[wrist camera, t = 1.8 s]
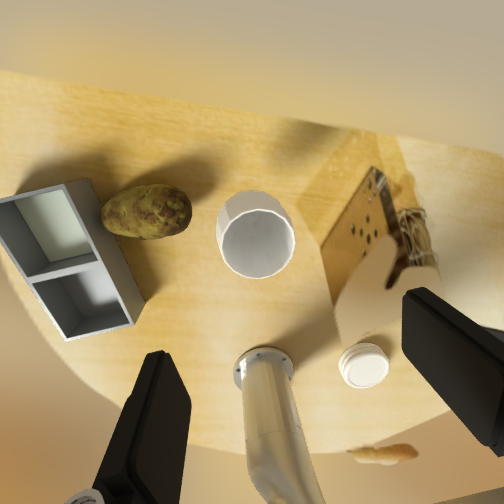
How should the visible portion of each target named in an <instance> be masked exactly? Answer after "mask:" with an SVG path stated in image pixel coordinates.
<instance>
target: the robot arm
mask: <svg viewBox="0 0 504 504" xmlns="http://www.w3.org/2000/svg"><path fill="white" fill-rule="evenodd" d="M402 300H403V301H402V350H403V353H404V355H405V356H406V357H407V358H408V360H409V361H410V362H411V363H412V364H413V365H414V367H415V368H416V369H417V370H418V371H419V372H420V373H421V375H422V376H423V377H424V378H425V379H426V380H427V382H428V383H429V384H430V385H431V386H432V387H433V389H434V390H435V391H436V392H437V393H438V394H439V396H440V397H441V398H442V399H443V400H444V401H445V403H446V404H447V405H448V406H449V407H450V408H451V409H452V411H453V412H454V413H455V414H456V415H457V416H458V418H459V419H460V420H461V421H462V422H463V423H464V425H465V426H466V427H467V428H468V429H469V430H470V431H471V433H472V434H473V435H474V436H475V437H476V439H477V440H478V441H479V442H480V443H481V444H483V445H484V446H489V447H490V449H491V450H492V451H493V452H494V453H495V454H496V455H497V456H498V457H501V456H504V342H502V341H501V340H499V339H498V338H497V337H495V336H494V335H492V334H491V333H490V332H488V331H487V330H485V329H484V328H482V327H481V326H480V325H478V324H477V323H475V322H474V321H472V320H471V319H470V318H468V317H467V316H465V315H464V314H462V313H461V312H460V311H458V310H457V309H455V308H454V307H452V306H451V305H450V304H448V303H447V302H445V301H444V300H443V299H441V298H440V297H438V296H437V295H435V294H434V293H432V292H431V291H430V290H428V289H427V288H425V287H420V288H415V289H411V290H408V291H407V292H406V295H404V296H403V299H402ZM293 372H294V369H293V364H292V361H291V359H290V357H289V356H288V355H287V354H286V353H284V352H283V351H281V350H279V349H276V348H270V347H263V348H257V349H254V350H251V351H249V352H247V353H245V354H244V355H243V356H241V357H240V358H239V360H238V361H237V362H236V364H235V366H234V370H233V376H234V381H235V384H236V385H237V387H238V388H239V389H240V390H242V399H243V414H244V429H245V444H246V458H247V468H248V472H249V476H250V478H251V481H252V482H253V484H254V486H255V487H256V489H257V491H258V492H259V493H260V495H261V496H262V497H263V498H264V500H265V501H266V502H267V503H268V504H326V503H325V500H324V498H323V495H322V492H321V490H320V487H319V484H318V481H317V478H316V475H315V472H314V468H313V465H312V462H311V458H310V454H309V451H308V447H307V443H306V440H305V436H304V432H303V429H302V425H301V421H300V418H299V414H298V410H297V407H296V403H295V399H294V396H293V392H292V388H291V385H290V380H291V379H292V376H293ZM191 407H192V406H191V399H190V396H189V394H188V392H187V390H186V388H185V386H184V384H183V381H182V379H181V377H180V375H179V373H178V371H177V368H176V366H175V364H174V362H173V360H172V358H171V356H170V354H169V353H165V352H164V351H163V350H161V351H156V352H152V353H148V354H147V355H146V357H145V359H144V362H143V365H142V367H141V370H140V373H139V375H138V378H137V380H136V383H135V386H134V388H133V391H132V393H131V395H130V396H129V397H128V398H127V400H126V402H125V405H124V407H123V410H122V412H121V415H120V417H119V420H118V422H117V425H116V427H115V430H114V433H113V435H112V438H111V440H110V443H109V446H108V448H107V450H106V453H105V455H104V458H103V460H102V463H101V466H100V468H99V471H98V473H97V476H96V478H95V481H94V483H93V486H92V488H91V489H86V490H83V491H81V492H79V493H77V494H75V495H74V496H72V497H71V498H70V499H69V500H67V501H66V502H65V503H64V504H179V500H180V492H181V485H182V477H183V469H184V461H185V454H186V446H187V439H188V431H189V424H190V416H191ZM435 504H504V487H502V488H498V489H493V490H489V491H485V492H481V493H477V494H472V495H468V496H464V497H460V498H456V499H452V500H447V501H443V502H439V503H435Z"/></svg>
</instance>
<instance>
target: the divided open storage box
mask: <svg viewBox="0 0 504 504" xmlns="http://www.w3.org/2000/svg"><path fill="white" fill-rule="evenodd" d="M101 209H102V207H101V205H100V203H99V201H98V199H97V196H96V194H95V192H94V190H93V188H92V185H91V183H90V181H89V179H88V178H87V179H82V180H78V181H73V182H69V183H64V184H60V185H56V186H52V187H47V188H43V189H39V190H35V191H30V192H26V193H22V194H18V195H14V196H9V197H5V198H1V199H0V243H1V244H2V246H3V247H4V249H5V250H6V252H7V253H8V255H9V256H10V258H11V260H12V261H13V263H14V264H15V266H16V267H17V269H18V270H19V272H20V273H21V275H22V276H23V278H24V279H25V281H26V282H27V284H28V285H29V287H30V288H31V290H32V291H33V293H34V295H35V296H36V298H37V299H38V301H39V302H40V304H41V305H42V307H43V308H44V310H45V311H46V313H47V314H48V316H49V317H50V319H51V320H52V322H53V323H54V325H55V327H56V328H57V330H58V331H59V333H60V334H61V336H62V337H63V339H64V340H65V342H66V341H71V340H75V339H79V338H83V337H87V336H91V335H95V334H100V333H104V332H108V331H112V330H116V329H120V328H125V327H129V326H133V325H135V323H136V321H137V319H138V317H139V315H140V313H141V312H142V310H143V308H144V306H145V304H146V303H145V301H144V299H143V296H142V294H141V292H140V290H139V288H138V286H137V283H136V281H135V279H134V277H133V275H132V273H131V270H130V268H129V266H128V264H127V262H126V259H125V257H124V255H123V253H122V251H121V249H120V246H119V244H118V242H117V240H116V238H115V236H114V233H112V232H110V231H108V230H107V229H106V228H105V227H104V226H103V225H102V223H101V221H100V217H99V215H100V211H101Z"/></svg>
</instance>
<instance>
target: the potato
mask: <svg viewBox="0 0 504 504" xmlns="http://www.w3.org/2000/svg"><path fill="white" fill-rule="evenodd" d="M99 217H100V221H101V223H102V225H103V226H104V227H105V228H106V229H107V230H108V231H110V232H112V233H114V234H117V235H123V236H128V237H136V238H141V239H144V240H146V239H159V238H163V237H166V236H172V235H176V234H179V233H180V232H182V231H184V230H185V229H186V228H187V227H188V225H189V223H190V221H191V218H192V206H191V202H190V200H189V199H188V197H187V196H186V194H185V193H184V192H183V191H181V190H179V189H178V188H176V187H173V186H170V185H165V184H149V185H142V186H134V187H131V188H128V189H125V190H123V191H120V192H118V193H117V194H115V195H114V196H113V197H112V198H111V199H110V200H109V201H108V202H107V203H106V204H105V205H104V206H103V207H102V209H101V211H100V215H99Z"/></svg>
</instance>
